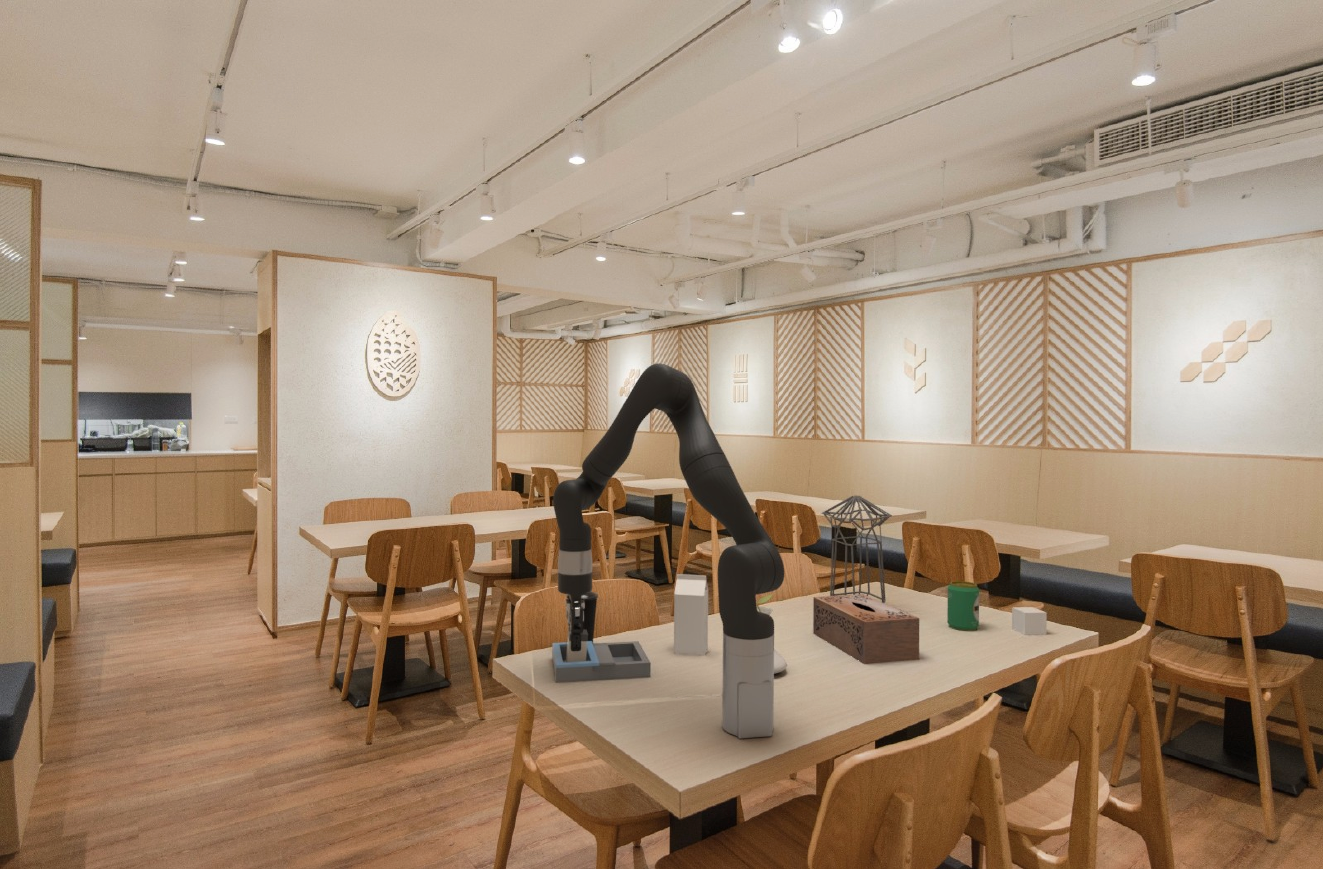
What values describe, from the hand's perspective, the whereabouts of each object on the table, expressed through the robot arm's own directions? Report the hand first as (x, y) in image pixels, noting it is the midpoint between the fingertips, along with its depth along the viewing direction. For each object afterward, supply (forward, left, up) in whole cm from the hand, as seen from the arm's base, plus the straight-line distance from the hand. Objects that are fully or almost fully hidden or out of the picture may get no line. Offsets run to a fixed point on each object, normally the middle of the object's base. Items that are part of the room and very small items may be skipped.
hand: (574, 646), depth 161 cm
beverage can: (+19, -107, -6) cm, 109 cm away
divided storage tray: (0, -5, -6) cm, 8 cm away
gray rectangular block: (0, 0, -5) cm, 5 cm away
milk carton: (+9, -28, -6) cm, 31 cm away
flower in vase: (-5, -40, -6) cm, 41 cm away
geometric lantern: (+37, -84, -6) cm, 92 cm away
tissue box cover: (+8, -72, -6) cm, 73 cm away
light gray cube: (+12, -122, -6) cm, 123 cm away
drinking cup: (+16, -3, -6) cm, 17 cm away
